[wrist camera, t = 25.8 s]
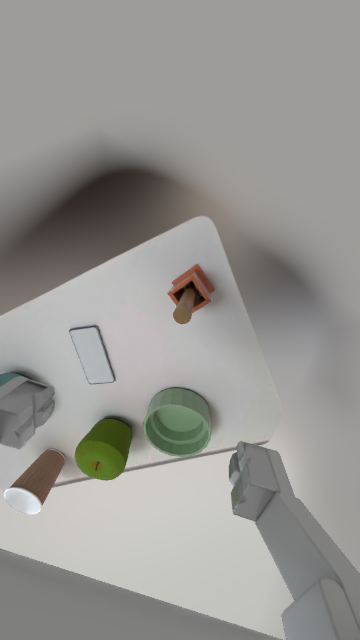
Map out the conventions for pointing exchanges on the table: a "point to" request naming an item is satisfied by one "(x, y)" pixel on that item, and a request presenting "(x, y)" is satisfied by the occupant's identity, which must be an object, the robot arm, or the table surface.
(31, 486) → the coffee cup
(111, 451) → the apple
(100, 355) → the smartphone
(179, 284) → the utensil holder
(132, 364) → the table surface
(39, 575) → the robot arm
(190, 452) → the green round dish
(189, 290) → the stirring stick
